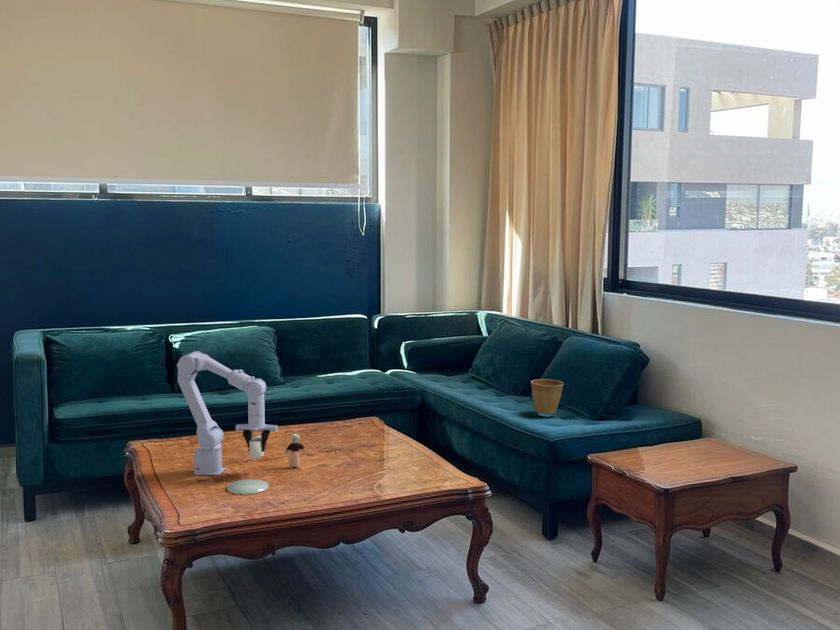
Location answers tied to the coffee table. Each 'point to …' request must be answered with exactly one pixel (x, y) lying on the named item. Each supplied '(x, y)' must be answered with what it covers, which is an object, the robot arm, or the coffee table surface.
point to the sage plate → (247, 487)
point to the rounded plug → (255, 447)
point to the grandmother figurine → (294, 451)
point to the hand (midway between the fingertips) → (256, 450)
